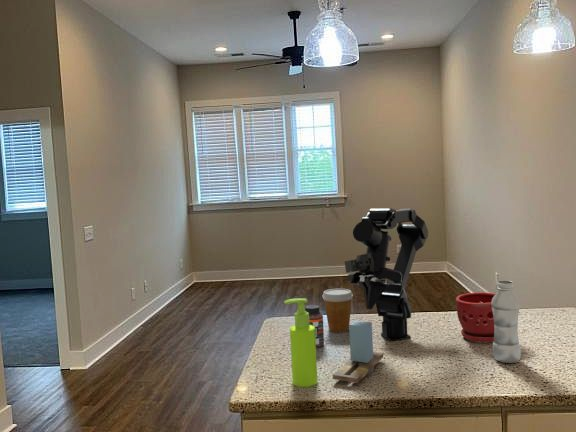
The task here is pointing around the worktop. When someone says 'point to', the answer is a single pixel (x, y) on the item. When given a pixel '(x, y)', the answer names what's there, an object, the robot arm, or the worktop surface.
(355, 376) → the slotted wooden board
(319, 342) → the supplement bottle
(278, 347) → the worktop surface
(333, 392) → the worktop surface
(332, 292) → the disposable coffee cup
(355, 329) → the rider
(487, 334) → the plant pot
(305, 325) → the soap dispenser
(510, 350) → the plastic bottle
